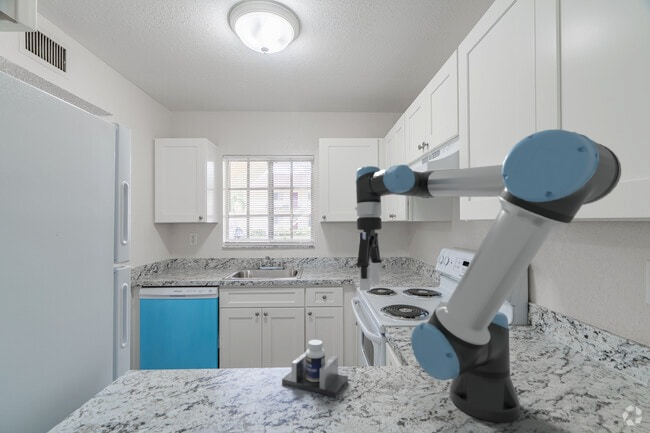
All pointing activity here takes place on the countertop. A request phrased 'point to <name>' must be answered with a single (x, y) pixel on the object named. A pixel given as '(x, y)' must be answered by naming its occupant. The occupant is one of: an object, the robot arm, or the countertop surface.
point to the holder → (328, 381)
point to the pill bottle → (314, 360)
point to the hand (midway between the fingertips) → (370, 286)
